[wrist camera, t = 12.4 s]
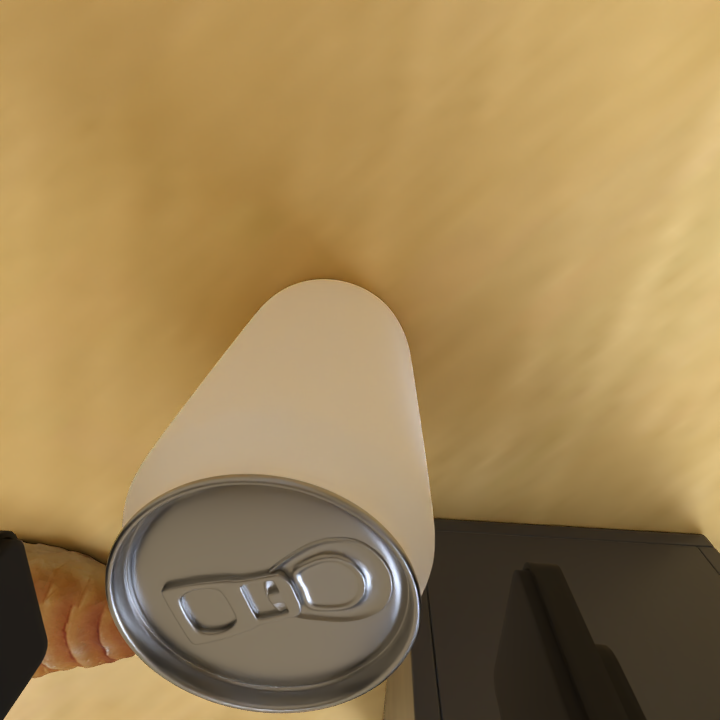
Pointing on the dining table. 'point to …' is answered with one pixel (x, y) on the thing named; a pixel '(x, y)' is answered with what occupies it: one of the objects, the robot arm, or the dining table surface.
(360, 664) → the can
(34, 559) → the pastry
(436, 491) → the dining table surface
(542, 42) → the dining table surface
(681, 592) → the bin
